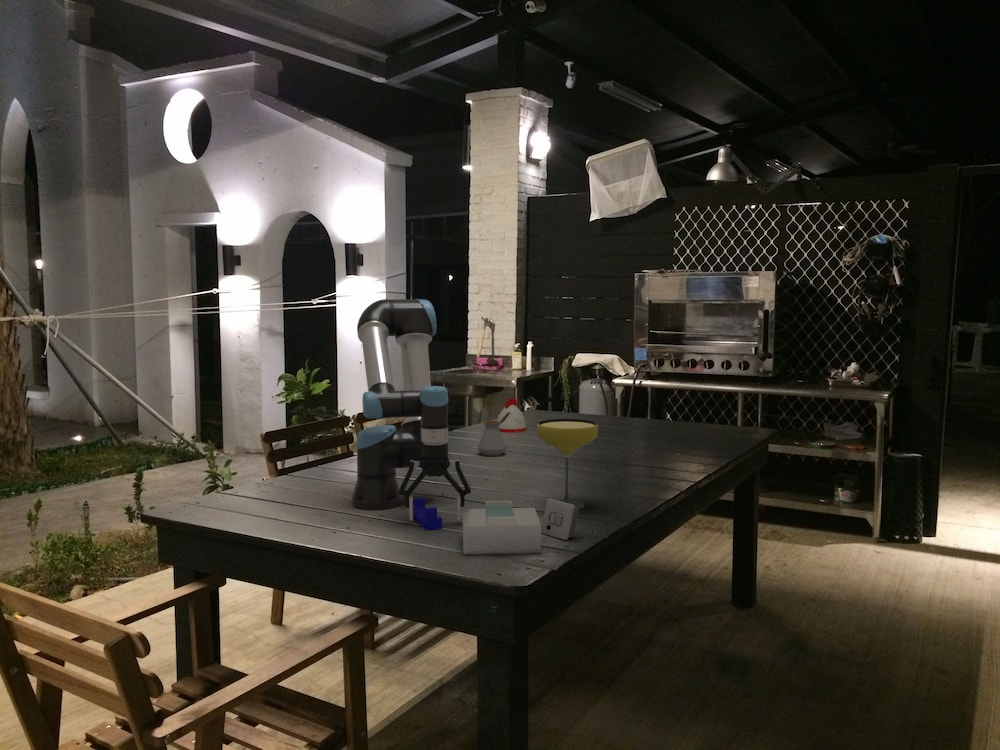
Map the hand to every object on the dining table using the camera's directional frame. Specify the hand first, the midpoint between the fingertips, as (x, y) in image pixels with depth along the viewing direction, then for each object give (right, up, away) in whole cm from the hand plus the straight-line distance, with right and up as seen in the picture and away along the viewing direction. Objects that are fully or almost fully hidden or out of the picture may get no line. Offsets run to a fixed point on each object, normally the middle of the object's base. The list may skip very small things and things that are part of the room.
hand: (435, 518), depth 225 cm
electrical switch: (+34, -3, -11) cm, 35 cm away
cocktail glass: (+38, 0, +18) cm, 42 cm away
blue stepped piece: (-2, -2, 0) cm, 3 cm away
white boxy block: (+18, -3, -18) cm, 26 cm away
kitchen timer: (+23, +14, +152) cm, 154 cm away
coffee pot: (+17, +9, +100) cm, 102 cm away
